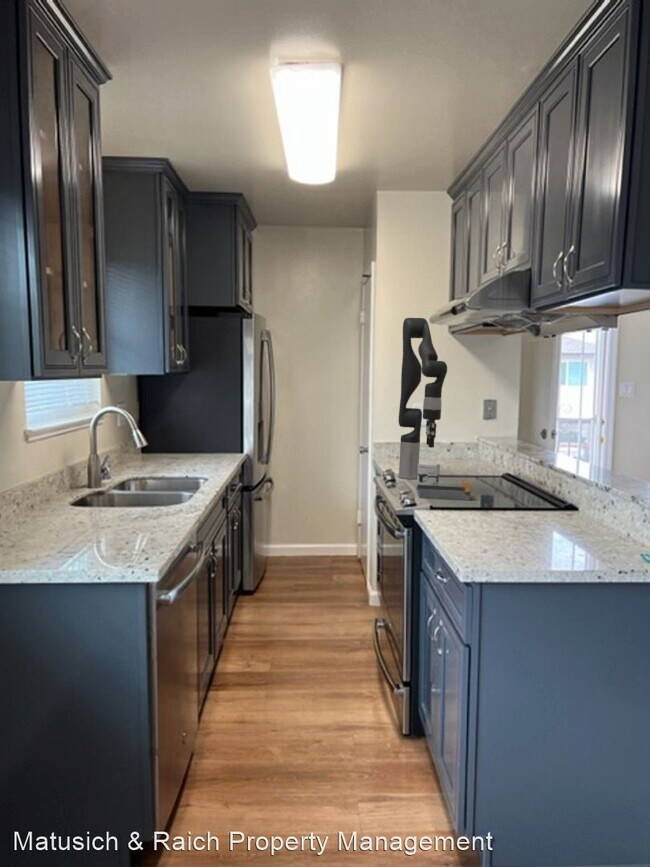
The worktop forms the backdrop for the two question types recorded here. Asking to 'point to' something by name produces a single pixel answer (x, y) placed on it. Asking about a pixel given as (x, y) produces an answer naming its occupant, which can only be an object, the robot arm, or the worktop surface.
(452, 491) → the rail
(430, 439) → the robot arm
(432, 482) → the ink box
